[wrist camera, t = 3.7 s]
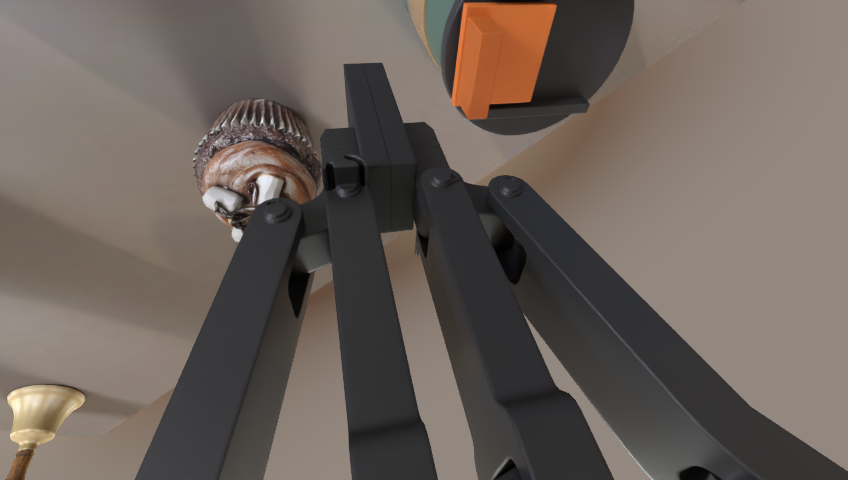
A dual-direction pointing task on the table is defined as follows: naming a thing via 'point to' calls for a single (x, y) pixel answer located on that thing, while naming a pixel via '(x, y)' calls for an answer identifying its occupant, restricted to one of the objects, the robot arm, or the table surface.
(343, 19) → the table surface
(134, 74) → the table surface
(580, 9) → the mug lid
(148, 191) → the table surface
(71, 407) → the hand bell
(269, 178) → the cupcake
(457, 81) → the slider
